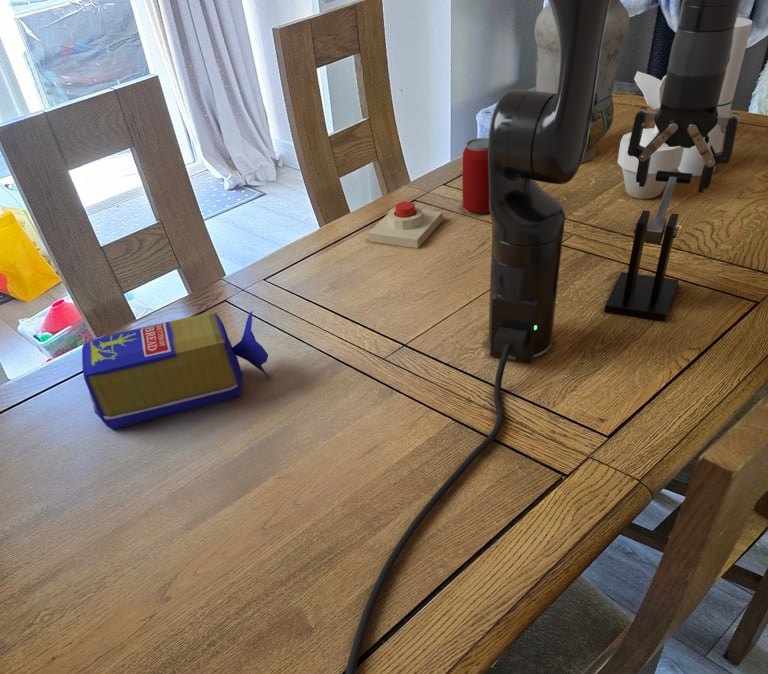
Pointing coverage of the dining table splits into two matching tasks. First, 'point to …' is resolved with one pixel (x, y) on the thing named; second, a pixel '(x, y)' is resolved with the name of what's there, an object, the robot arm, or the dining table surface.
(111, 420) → the bread
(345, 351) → the dining table surface
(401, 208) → the button
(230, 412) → the dining table surface
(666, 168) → the potted plant
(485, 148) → the beverage can
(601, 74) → the vase
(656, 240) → the lever
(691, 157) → the cylindrical container
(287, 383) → the dining table surface
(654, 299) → the bracket
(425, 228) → the button box
